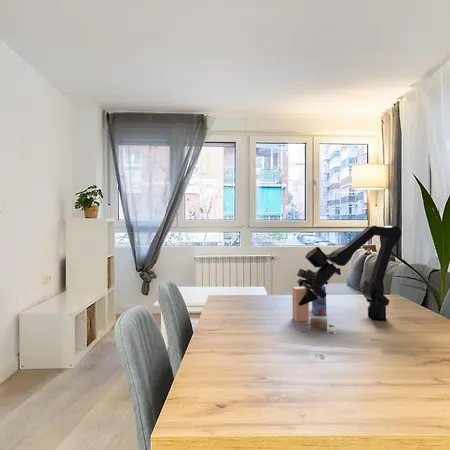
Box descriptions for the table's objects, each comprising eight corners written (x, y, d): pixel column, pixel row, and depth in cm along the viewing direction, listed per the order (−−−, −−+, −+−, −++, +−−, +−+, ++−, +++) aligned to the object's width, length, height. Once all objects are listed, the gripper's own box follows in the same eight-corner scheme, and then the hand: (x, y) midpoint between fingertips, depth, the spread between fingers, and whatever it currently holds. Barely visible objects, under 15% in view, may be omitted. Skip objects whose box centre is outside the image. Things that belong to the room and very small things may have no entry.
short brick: (327, 326, 148) (327, 318, 148) (327, 331, 143) (327, 322, 142) (310, 325, 150) (310, 317, 150) (310, 329, 144) (310, 321, 144)
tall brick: (304, 320, 162) (304, 286, 162) (308, 323, 157) (308, 288, 157) (292, 321, 161) (292, 287, 161) (296, 324, 156) (296, 289, 156)
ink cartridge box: (311, 309, 183) (310, 278, 182) (323, 309, 182) (323, 278, 182) (313, 314, 173) (313, 281, 173) (326, 314, 172) (326, 281, 172)
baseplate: (335, 328, 150) (335, 324, 150) (335, 337, 139) (335, 332, 139) (303, 326, 154) (303, 322, 154) (301, 335, 142) (301, 330, 142)
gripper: (301, 259, 169) (276, 286, 167) (318, 264, 150) (290, 294, 149) (319, 277, 170) (294, 304, 169) (338, 284, 152) (310, 314, 150)
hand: (297, 303), depth 159 cm, fingers closed on tall brick, 5 cm apart
